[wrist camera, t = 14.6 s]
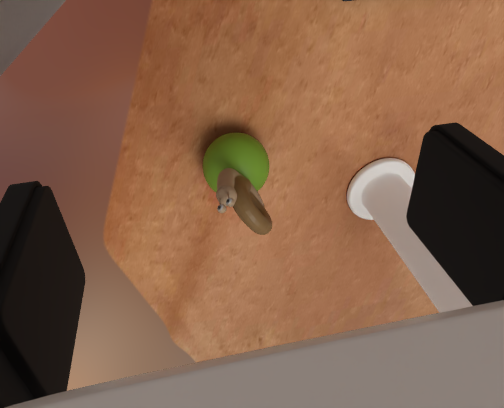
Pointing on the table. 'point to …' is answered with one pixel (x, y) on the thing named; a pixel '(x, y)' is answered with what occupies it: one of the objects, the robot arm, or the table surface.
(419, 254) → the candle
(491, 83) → the table surface
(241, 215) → the snail figurine
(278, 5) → the table surface
